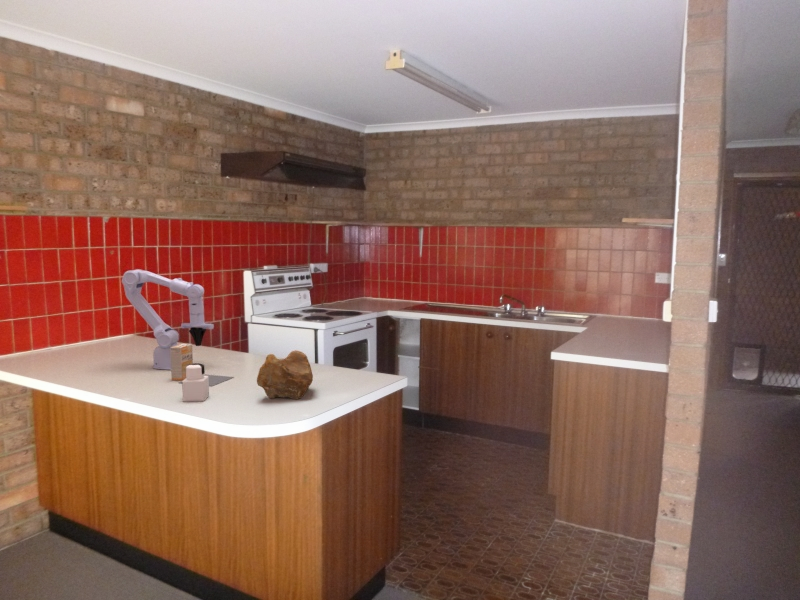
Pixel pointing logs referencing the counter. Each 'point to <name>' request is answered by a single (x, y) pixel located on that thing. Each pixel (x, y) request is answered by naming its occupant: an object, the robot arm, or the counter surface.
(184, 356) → the supplement box
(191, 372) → the medicine bottle
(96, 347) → the counter surface
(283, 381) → the rough brown rock
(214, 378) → the mat
